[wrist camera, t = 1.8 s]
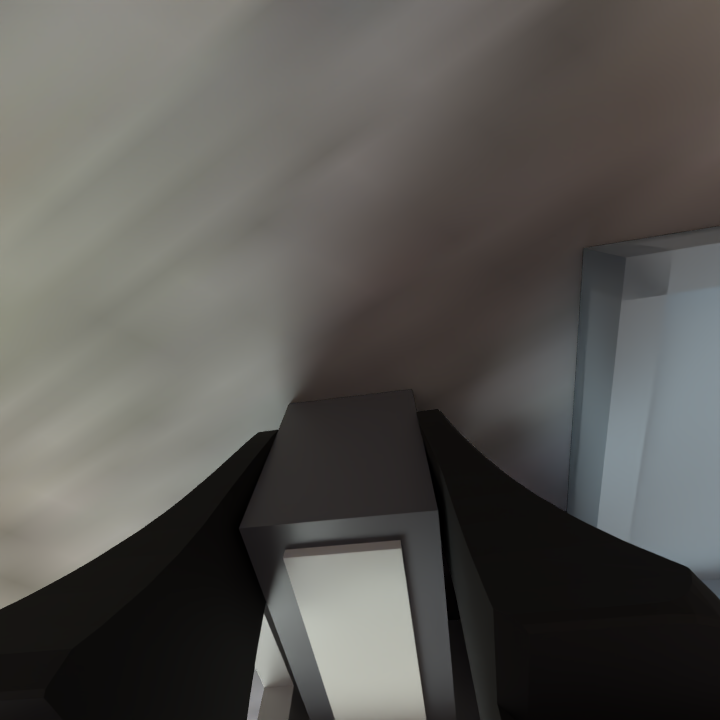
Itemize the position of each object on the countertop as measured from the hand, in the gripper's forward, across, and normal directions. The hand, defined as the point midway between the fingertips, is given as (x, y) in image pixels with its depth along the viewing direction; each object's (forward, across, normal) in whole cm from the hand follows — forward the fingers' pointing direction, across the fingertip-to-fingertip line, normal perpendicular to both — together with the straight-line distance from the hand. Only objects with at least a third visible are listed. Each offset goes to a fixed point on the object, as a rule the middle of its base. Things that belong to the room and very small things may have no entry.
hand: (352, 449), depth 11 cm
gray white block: (+1, 0, +4) cm, 4 cm away
